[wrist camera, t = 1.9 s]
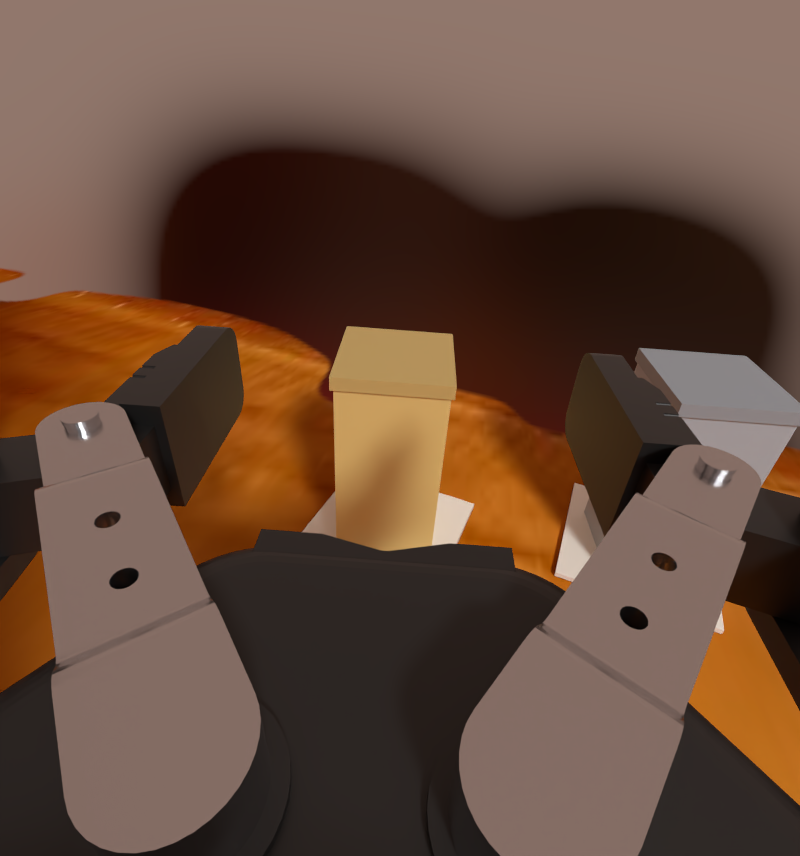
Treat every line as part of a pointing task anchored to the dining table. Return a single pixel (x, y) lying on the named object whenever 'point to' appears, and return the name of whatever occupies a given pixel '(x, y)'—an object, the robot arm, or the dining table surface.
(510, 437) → the dining table surface
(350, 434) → the ochre tea tin
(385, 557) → the robot arm
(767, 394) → the slate tea tin
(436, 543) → the cream tile
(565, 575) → the cream tile
